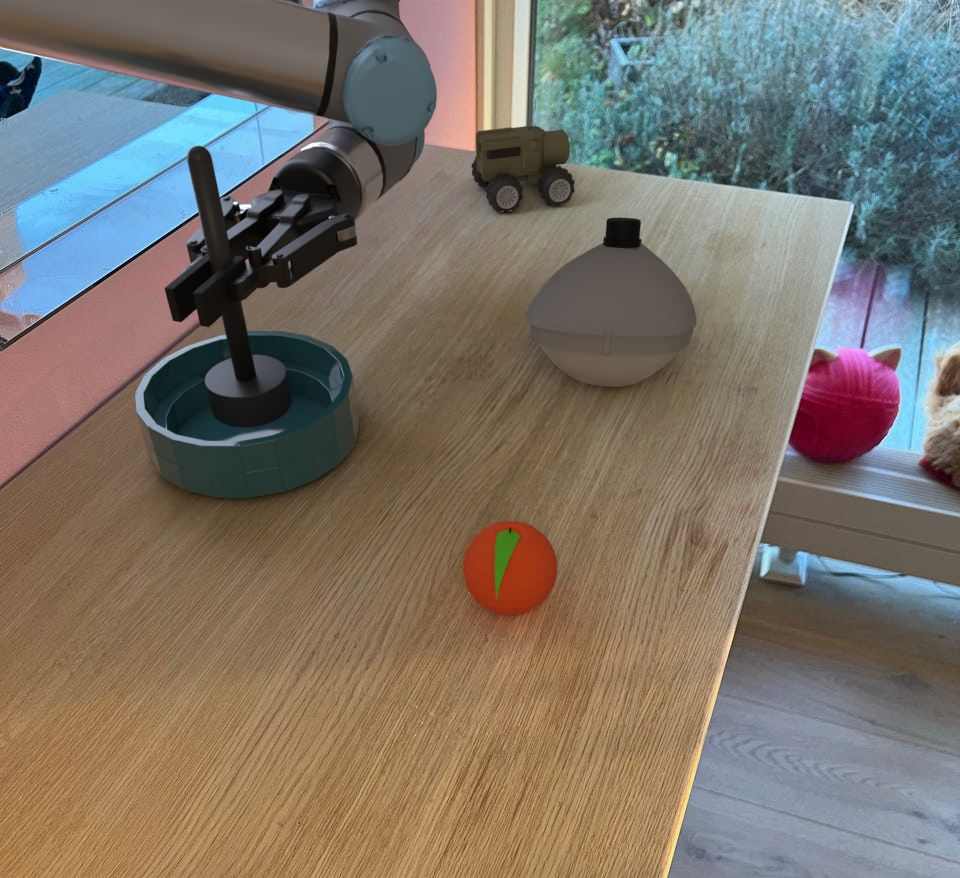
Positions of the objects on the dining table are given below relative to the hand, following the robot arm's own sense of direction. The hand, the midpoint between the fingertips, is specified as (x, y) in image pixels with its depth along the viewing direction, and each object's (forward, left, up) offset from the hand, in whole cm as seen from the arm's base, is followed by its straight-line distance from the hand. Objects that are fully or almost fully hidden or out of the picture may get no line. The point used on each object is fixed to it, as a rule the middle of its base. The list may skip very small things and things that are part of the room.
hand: (187, 307), depth 79 cm
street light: (+26, +32, -16) cm, 44 cm away
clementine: (+29, -7, -16) cm, 34 cm away
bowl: (0, +6, -16) cm, 17 cm away
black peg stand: (0, +6, -12) cm, 13 cm away
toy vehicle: (+5, +65, -16) cm, 67 cm away
